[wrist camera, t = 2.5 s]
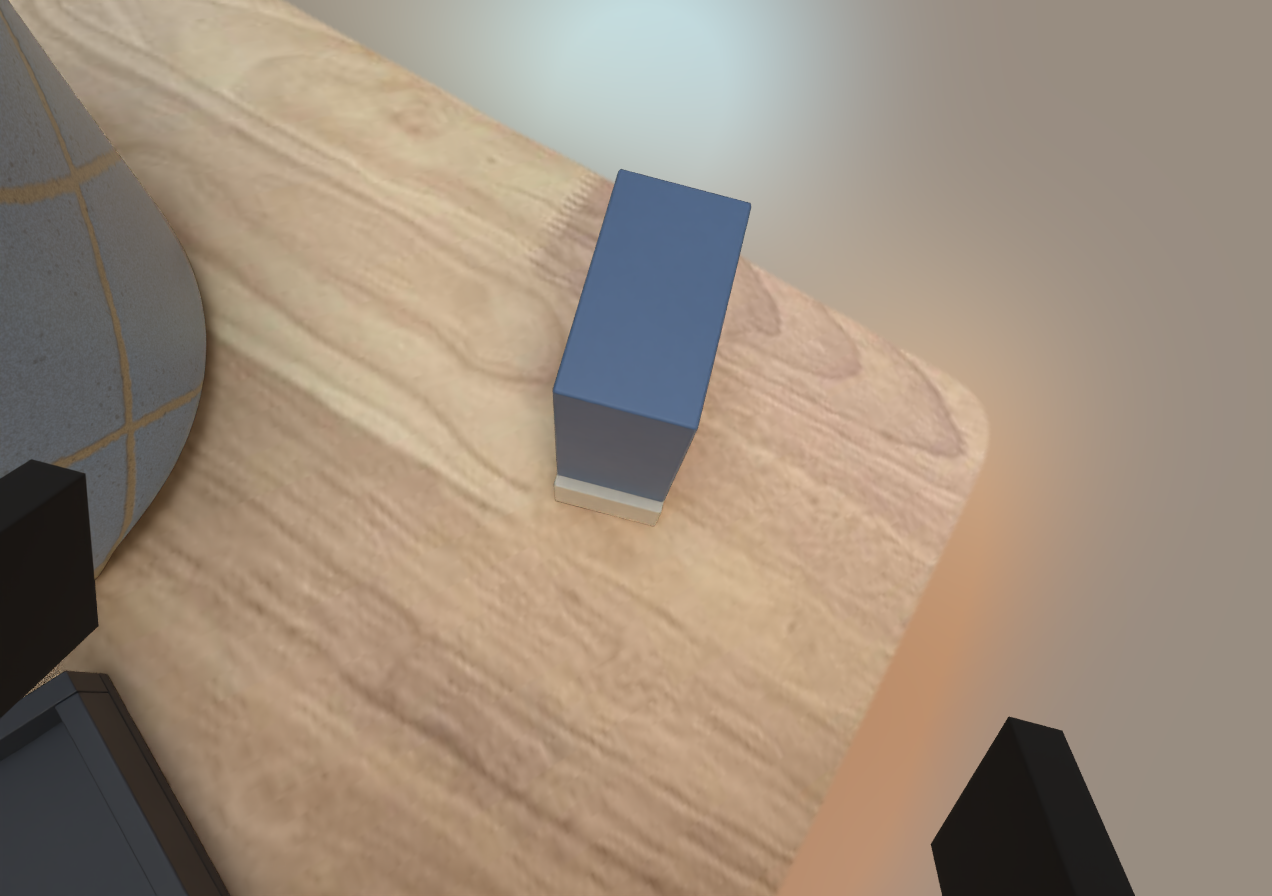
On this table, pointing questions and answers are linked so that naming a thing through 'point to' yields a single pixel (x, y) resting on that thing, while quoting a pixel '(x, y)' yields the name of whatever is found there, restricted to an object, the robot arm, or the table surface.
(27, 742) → the tray
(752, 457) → the table surface
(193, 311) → the planter
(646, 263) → the eraser
